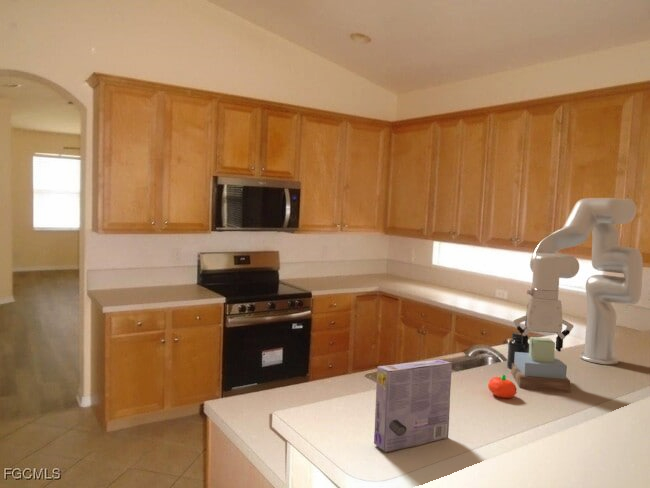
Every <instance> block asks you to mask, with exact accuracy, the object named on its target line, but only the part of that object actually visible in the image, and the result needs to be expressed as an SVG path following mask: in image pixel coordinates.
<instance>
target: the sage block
mask: <svg viewBox="0 0 650 488" xmlns="http://www.w3.org/2000/svg"><path fill="white" fill-rule="evenodd" d="M528 343H529V356H530V357H531V359H532V360H533V361H543V362H554V356H555V351H556V342H555V341H554V340H552V339H551V338H550V337H538V336H537V337H535V336H530V337H529V342H528Z"/></svg>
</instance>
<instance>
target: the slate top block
mask: <svg viewBox="0 0 650 488" xmlns="http://www.w3.org/2000/svg"><path fill="white" fill-rule="evenodd" d="M514 364H515V366H516V367H517V368H518V369H519V370H520V371H521V372H522V374H523V375H524V376H534V377H548V378H562V379H566V377H567V370H568V369H567V368H568V365H567V364H565V363H564V362H563V361H562V360H560V359H559V358H558V357H557V356H555V355H554V362H543V361H533V360H532V359H531V357H530V356H529V353H523V352H515V358H514Z"/></svg>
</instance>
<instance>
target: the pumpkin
mask: <svg viewBox="0 0 650 488" xmlns="http://www.w3.org/2000/svg"><path fill="white" fill-rule="evenodd" d="M487 387H488V389H489V391H490V392H491V393H492V394H493V395H494V396H496V397H498V398H502V399H509V398H513V397H514V396H516V394H517V387H516V384H515V383H514V382H513V381H511V380H509V379H506V375H505V374H502V376H501V377H500V376H493V377H492V378H490V379H489V381H488V384H487Z"/></svg>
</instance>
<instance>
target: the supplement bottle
mask: <svg viewBox="0 0 650 488" xmlns="http://www.w3.org/2000/svg"><path fill="white" fill-rule="evenodd" d="M511 333H512V334H511V339H510V340H509V341H508V345H507V346H508V347H507V360H506V362H507V363H506V366H507V367H508V368H509V369H512V363H514V358H515V352H523V353H529V343H530V342H528V348H527V349H525V348H524V347H523V345H522V334H521V333H520V332H519V331H513V332H511Z"/></svg>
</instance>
